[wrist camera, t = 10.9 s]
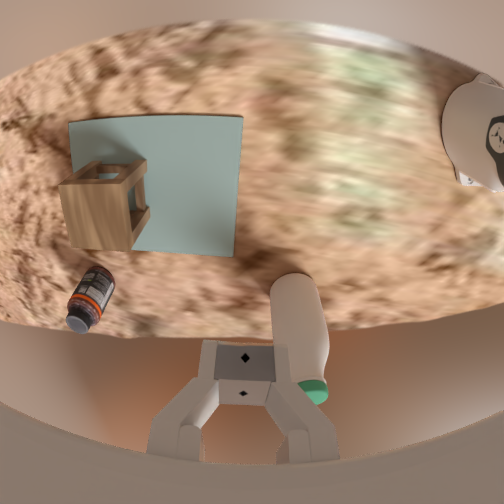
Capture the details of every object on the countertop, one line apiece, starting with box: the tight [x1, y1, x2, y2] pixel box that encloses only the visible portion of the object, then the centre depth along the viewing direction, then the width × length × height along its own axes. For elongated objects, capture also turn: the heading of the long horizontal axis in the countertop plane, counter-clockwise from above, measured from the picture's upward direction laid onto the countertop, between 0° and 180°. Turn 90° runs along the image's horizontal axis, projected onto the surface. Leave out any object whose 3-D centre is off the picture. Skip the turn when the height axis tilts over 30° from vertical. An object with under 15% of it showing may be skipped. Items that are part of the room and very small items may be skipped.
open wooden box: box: [58, 160, 150, 252], centre depth 33 cm, size 9×8×8 cm
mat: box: [68, 115, 243, 257], centre depth 37 cm, size 24×20×1 cm
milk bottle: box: [270, 273, 329, 405], centre depth 39 cm, size 8×8×20 cm
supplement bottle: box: [66, 267, 115, 334], centre depth 41 cm, size 6×6×11 cm
